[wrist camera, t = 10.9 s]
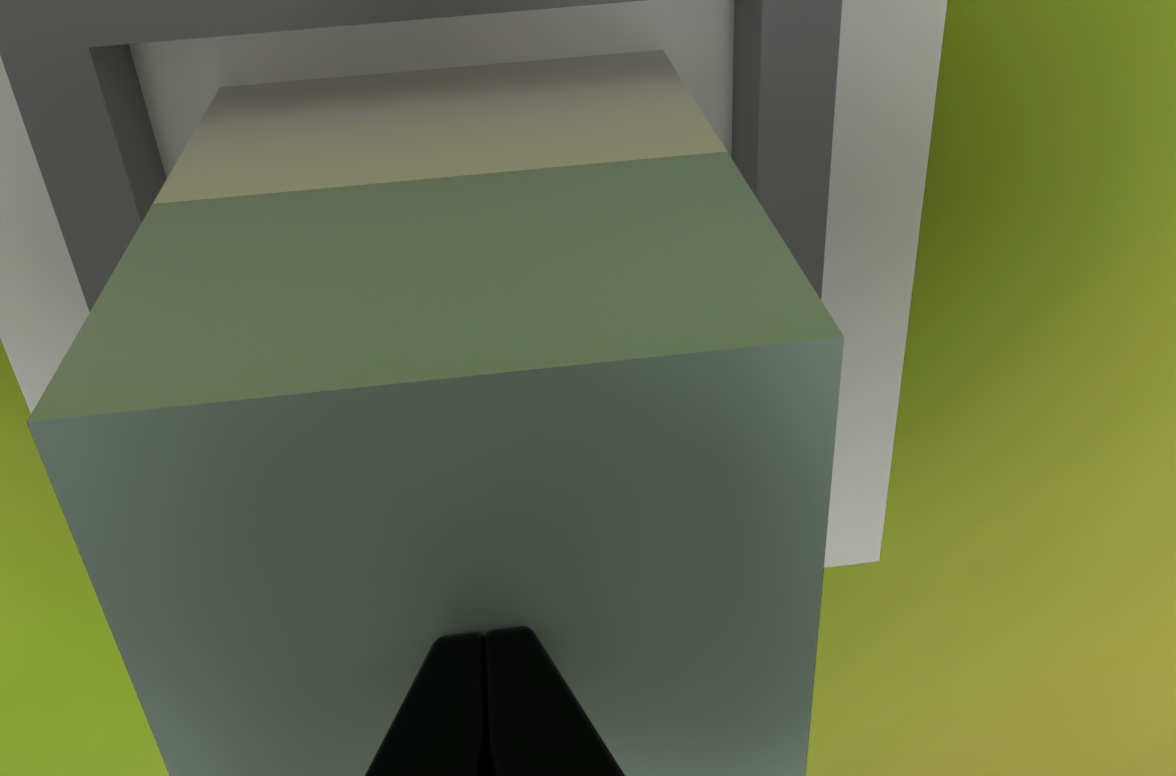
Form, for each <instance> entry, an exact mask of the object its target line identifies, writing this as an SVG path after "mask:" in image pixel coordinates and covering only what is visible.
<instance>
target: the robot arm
mask: <svg viewBox="0 0 1176 776" xmlns="http://www.w3.org/2000/svg"><path fill="white" fill-rule="evenodd" d="M365 776H625V774H624V773H623V771H622V770H621V768H620V766H619V765H618V763H617V762H616V760H615V758H614V757H613V755H612V754H611V752H610V751H609V749H608V747H607V746H606V744H605V743H604V741H603V740H602V738H601V736H600V735H599V733H598V732H597V730H596V728H595V727H594V725H593V724H592V722H591V721H590V719H589V717H588V716H587V714H586V713H585V711H584V710H583V708H582V706H581V705H580V703H579V702H578V700H577V698H576V697H575V695H574V694H573V692H572V691H571V689H570V687H569V686H568V684H567V683H566V681H565V680H564V678H563V676H562V675H561V673H560V672H559V670H558V668H557V667H556V665H555V664H554V662H553V661H552V659H551V657H550V656H549V654H548V653H547V651H546V650H545V648H544V646H543V645H542V643H541V642H540V640H539V639H538V637H537V635H536V634H535V632H534V631H533V630H532V629H531V628H529V627H527V626H519V627H511V628H502V629H494V630H490V631H488V632H487V633H486V635H485V638H484V637H483V636H482V635H481V634H480V633H478V632H469V633H461V634H453V635H445V636H440V637H439V638H437V639H436V640H435V641H434V643H433V644H432V646H431V648H430V650H429V652H428V654H427V656H426V658H425V660H424V662H423V663H422V665H421V667H420V669H419V671H418V673H417V675H416V677H415V679H414V681H413V683H412V685H411V687H410V689H409V691H408V692H407V694H406V696H405V698H404V700H403V702H402V704H401V706H400V708H399V710H398V712H397V714H396V716H395V718H394V720H393V722H392V723H391V725H390V727H389V729H388V731H387V733H386V735H385V737H384V739H383V741H382V743H381V745H380V747H379V749H378V751H377V752H376V754H375V756H374V758H373V760H372V762H371V764H370V766H369V768H368V770H367V772H366V774H365Z"/></svg>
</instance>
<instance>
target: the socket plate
mask: <svg viewBox="0 0 1176 776" xmlns="http://www.w3.org/2000/svg"><path fill="white" fill-rule="evenodd" d="M946 8H947V0H0V339H1V341H2V344H3V346H4V349H5V351H6V354H7V356H8V358H9V361H10V363H11V366H12V368H13V371H14V373H15V376H16V378H17V381H18V383H19V386H20V388H21V391H22V393H23V396H24V398H25V401H26V403H27V405H28V408H29V410H30V413H31V414H32V412H33V410H34V408H35V407H36V405H37V403H38V401H39V400H40V398H41V396H42V394H43V393H44V391H45V389H46V388H47V386H48V384H49V382H50V381H51V379H52V377H53V375H54V374H55V372H56V370H57V368H58V367H59V365H60V363H61V362H62V360H63V358H64V356H65V355H66V353H67V351H68V349H69V348H70V346H71V344H72V342H73V341H74V339H75V337H76V336H77V334H78V332H79V330H80V329H81V327H82V325H83V323H84V322H85V320H86V318H87V317H88V315H89V313H90V311H91V310H92V308H93V306H94V304H95V303H96V301H97V299H98V297H99V296H100V294H101V292H102V291H103V289H104V287H105V285H106V284H107V282H108V280H109V278H110V277H111V275H112V273H113V271H114V270H115V268H116V266H117V265H118V263H119V261H120V259H121V258H122V256H123V254H124V252H125V251H126V249H127V247H128V245H129V244H130V242H131V240H132V239H133V237H134V235H135V233H136V232H137V230H138V228H139V226H140V225H141V223H142V221H143V219H144V218H145V216H146V214H147V213H148V211H149V209H150V207H151V206H152V204H153V202H154V200H155V199H156V197H157V195H158V193H159V192H160V190H161V188H162V187H163V185H164V183H165V181H166V180H167V178H168V176H169V174H170V173H171V171H172V169H173V167H174V166H175V164H176V162H177V161H178V159H179V157H180V155H181V154H182V152H183V150H184V148H185V147H186V145H187V143H188V141H189V140H190V138H191V136H192V135H193V133H194V131H195V129H196V128H197V126H198V124H199V122H200V121H201V119H202V117H203V115H204V114H205V112H206V110H207V109H208V107H209V105H210V103H211V102H212V100H213V98H214V96H215V95H216V93H217V91H218V89H219V88H220V87H228V86H240V85H252V84H264V83H275V82H287V81H299V80H311V79H323V78H335V77H346V76H358V75H370V74H382V73H394V72H405V71H417V70H429V69H441V68H453V67H464V66H476V65H488V64H500V63H512V62H523V61H535V60H547V59H559V58H571V57H582V56H594V55H606V54H618V53H630V52H642V51H653V50H663V51H664V52H665V54H666V55H667V57H668V59H669V60H670V62H671V63H672V65H673V66H674V68H675V70H676V71H677V73H678V74H679V76H680V78H681V79H682V81H683V82H684V84H685V85H686V87H687V89H688V90H689V92H690V93H691V95H692V97H693V98H694V100H695V101H696V103H697V104H698V106H699V108H700V109H701V111H702V112H703V114H704V116H705V117H706V119H707V120H708V122H709V124H710V125H711V127H712V128H713V130H714V131H715V133H716V135H717V136H718V138H719V139H720V141H721V143H722V144H723V146H724V147H725V149H726V150H727V152H728V154H729V155H730V157H731V158H732V160H733V162H734V163H735V165H736V166H737V168H738V169H739V171H740V173H741V174H742V176H743V177H744V179H745V181H746V182H747V184H748V185H749V187H750V188H751V190H752V192H753V193H754V195H755V196H756V198H757V200H758V201H759V203H760V204H761V206H762V207H763V209H764V211H765V212H766V214H767V215H768V217H769V219H770V220H771V222H772V223H773V225H774V226H775V228H776V230H777V231H778V233H779V234H780V236H781V238H782V239H783V241H784V242H785V244H786V246H787V247H788V249H789V250H790V252H791V253H792V255H793V257H794V258H795V260H796V261H797V263H798V265H799V266H800V268H801V269H802V271H803V272H804V274H805V276H806V277H807V279H808V280H809V282H810V284H811V285H812V287H813V288H814V290H815V291H816V293H817V295H818V296H819V298H820V299H821V301H822V303H823V304H824V306H825V307H826V309H827V310H828V312H829V314H830V315H831V317H832V318H833V320H834V322H835V323H836V325H837V326H838V328H839V329H840V331H841V333H842V334H843V336H844V346H843V357H842V369H841V380H840V391H839V403H838V414H837V425H836V437H835V448H834V459H833V471H832V482H831V493H830V504H829V516H828V527H827V538H826V550H825V561H824V568H826V567H835V566H843V565H851V564H860V563H868V562H876V561H879V559H880V551H881V543H882V534H883V526H884V518H885V510H886V502H887V493H888V485H889V477H890V469H891V460H892V452H893V444H894V436H895V427H896V419H897V411H898V403H899V395H900V386H901V378H902V370H903V362H904V353H905V345H906V337H907V329H908V321H909V312H910V304H911V296H912V288H913V279H914V271H915V263H916V255H917V247H918V238H919V230H920V222H921V214H922V205H923V197H924V189H925V181H926V173H927V164H928V156H929V148H930V140H931V131H932V123H933V115H934V107H935V99H936V90H937V82H938V74H939V66H940V57H941V49H942V41H943V33H944V25H945V16H946Z"/></svg>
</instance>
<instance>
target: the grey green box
mask: <svg viewBox="0 0 1176 776" xmlns="http://www.w3.org/2000/svg"><path fill="white" fill-rule="evenodd" d="M843 346H844V336H843V334H842V333H841V331H840V329H839V328H838V326H837V325H836V323H835V322H834V320H833V318H832V317H831V315H830V314H829V312H828V310H827V309H826V307H825V306H824V304H823V303H822V301H821V299H820V298H819V296H818V295H817V293H816V291H815V290H814V288H813V287H812V285H811V284H810V282H809V280H808V279H807V277H806V276H805V274H804V272H803V271H802V269H801V268H800V266H799V265H798V263H797V261H796V260H795V258H794V257H793V255H792V253H791V252H790V250H789V249H788V247H787V246H786V244H785V242H784V241H783V239H782V238H781V236H780V234H779V233H778V231H777V230H776V228H775V226H774V225H773V223H772V222H771V220H770V219H769V217H768V215H767V214H766V212H765V211H764V209H763V207H762V206H761V204H760V203H759V201H758V200H757V198H756V196H755V195H754V193H753V192H752V190H751V188H750V187H749V185H748V184H747V182H746V181H745V179H744V177H743V176H742V174H741V173H740V171H739V169H738V168H737V166H736V165H735V163H734V162H733V160H732V158H731V157H730V155H729V154H728V152H727V150H726V149H725V147H724V146H723V144H722V143H721V141H720V139H719V138H718V136H717V135H716V133H715V131H714V130H713V128H712V127H711V125H710V124H709V122H708V120H707V119H706V117H705V116H704V114H703V112H702V111H701V109H700V108H699V106H698V104H697V103H696V101H695V100H694V98H693V97H692V95H691V93H690V92H689V90H688V89H687V87H686V85H685V84H684V82H683V81H682V79H681V78H680V76H679V74H678V73H677V71H676V70H675V68H674V66H673V65H672V63H671V62H670V60H669V59H668V57H667V55H666V54H665V52H664V51H663V50H653V51H642V52H630V53H618V54H606V55H594V56H582V57H571V58H559V59H547V60H535V61H523V62H512V63H500V64H488V65H476V66H464V67H453V68H441V69H429V70H417V71H405V72H394V73H382V74H370V75H358V76H346V77H335V78H323V79H311V80H299V81H287V82H275V83H264V84H252V85H240V86H228V87H220V88H219V89H218V91H217V93H216V95H215V96H214V98H213V100H212V102H211V103H210V105H209V107H208V109H207V110H206V112H205V114H204V115H203V117H202V119H201V121H200V122H199V124H198V126H197V128H196V129H195V131H194V133H193V135H192V136H191V138H190V140H189V141H188V143H187V145H186V147H185V148H184V150H183V152H182V154H181V155H180V157H179V159H178V161H177V162H176V164H175V166H174V167H173V169H172V171H171V173H170V174H169V176H168V178H167V180H166V181H165V183H164V185H163V187H162V188H161V190H160V192H159V193H158V195H157V197H156V199H155V200H154V202H153V204H152V206H151V207H150V209H149V211H148V213H147V214H146V216H145V218H144V219H143V221H142V223H141V225H140V226H139V228H138V230H137V232H136V233H135V235H134V237H133V239H132V240H131V242H130V244H129V245H128V247H127V249H126V251H125V252H124V254H123V256H122V258H121V259H120V261H119V263H118V265H117V266H116V268H115V270H114V271H113V273H112V275H111V277H110V278H109V280H108V282H107V284H106V285H105V287H104V289H103V291H102V292H101V294H100V296H99V297H98V299H97V301H96V303H95V304H94V306H93V308H92V310H91V311H90V313H89V315H88V317H87V318H86V320H85V322H84V323H83V325H82V327H81V329H80V330H79V332H78V334H77V336H76V337H75V339H74V341H73V342H72V344H71V346H70V348H69V349H68V351H67V353H66V355H65V356H64V358H63V360H62V362H61V363H60V365H59V367H58V368H57V370H56V372H55V374H54V375H53V377H52V379H51V381H50V382H49V384H48V386H47V388H46V389H45V391H44V393H43V394H42V396H41V398H40V400H39V401H38V403H37V405H36V407H35V408H34V410H33V412H32V414H31V415H30V417H29V419H28V420H27V424H28V427H29V429H30V432H31V434H32V437H33V439H34V441H35V444H36V446H37V449H38V451H39V454H40V456H41V459H42V461H43V464H44V466H45V469H46V471H47V474H48V476H49V478H50V481H51V483H52V486H53V488H54V491H55V493H56V496H57V498H58V501H59V503H60V506H61V508H62V511H63V513H64V515H65V518H66V520H67V523H68V525H69V528H70V530H71V533H72V535H73V538H74V540H75V543H76V545H77V548H78V550H79V553H80V555H81V557H82V560H83V562H84V565H85V567H86V570H87V572H88V575H89V577H90V580H91V582H92V585H93V587H94V590H95V592H96V594H97V597H98V599H99V602H100V604H101V607H102V609H103V612H104V614H105V617H106V619H107V622H108V624H109V627H110V629H111V631H112V634H113V636H114V639H115V641H116V644H117V646H118V649H119V651H120V654H121V656H122V659H123V661H124V664H125V666H126V668H127V671H128V673H129V676H130V678H131V681H132V683H133V686H134V688H135V691H136V693H137V696H138V698H139V701H140V703H141V705H142V708H143V710H144V713H145V715H146V718H147V720H148V723H149V725H150V728H151V730H152V733H153V735H154V738H155V740H156V742H157V745H158V747H159V750H160V752H161V755H162V757H163V760H164V762H165V765H166V767H167V770H168V772H169V775H170V776H365V774H366V772H367V770H368V768H369V766H370V764H371V762H372V760H373V758H374V756H375V754H376V752H377V751H378V749H379V747H380V745H381V743H382V741H383V739H384V737H385V735H386V733H387V731H388V729H389V727H390V725H391V723H392V722H393V720H394V718H395V716H396V714H397V712H398V710H399V708H400V706H401V704H402V702H403V700H404V698H405V696H406V694H407V692H408V691H409V689H410V687H411V685H412V683H413V681H414V679H415V677H416V675H417V673H418V671H419V669H420V667H421V665H422V663H423V662H424V660H425V658H426V656H427V654H428V652H429V650H430V648H431V646H432V644H433V643H434V641H435V640H436V639H437V638H439V637H440V636H445V635H453V634H461V633H469V632H478V633H480V634H481V635H482V636H483V637H484V638H485V635H486V633H487V632H488V631H490V630H494V629H502V628H511V627H519V626H527V627H529V628H531V629H532V630H533V631H534V632H535V634H536V635H537V637H538V639H539V640H540V642H541V643H542V645H543V646H544V648H545V650H546V651H547V653H548V654H549V656H550V657H551V659H552V661H553V662H554V664H555V665H556V667H557V668H558V670H559V672H560V673H561V675H562V676H563V678H564V680H565V681H566V683H567V684H568V686H569V687H570V689H571V691H572V692H573V694H574V695H575V697H576V698H577V700H578V702H579V703H580V705H581V706H582V708H583V710H584V711H585V713H586V714H587V716H588V717H589V719H590V721H591V722H592V724H593V725H594V727H595V728H596V730H597V732H598V733H599V735H600V736H601V738H602V740H603V741H604V743H605V744H606V746H607V747H608V749H609V751H610V752H611V754H612V755H613V757H614V758H615V760H616V762H617V763H618V765H619V766H620V768H621V770H622V771H623V773H624V774H625V776H806V765H807V753H808V742H809V731H810V719H811V708H812V697H813V685H814V674H815V663H816V651H817V640H818V629H819V618H820V606H821V595H822V584H823V572H824V561H825V550H826V538H827V527H828V516H829V504H830V493H831V482H832V471H833V459H834V448H835V437H836V425H837V414H838V403H839V391H840V380H841V369H842V357H843Z"/></svg>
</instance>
